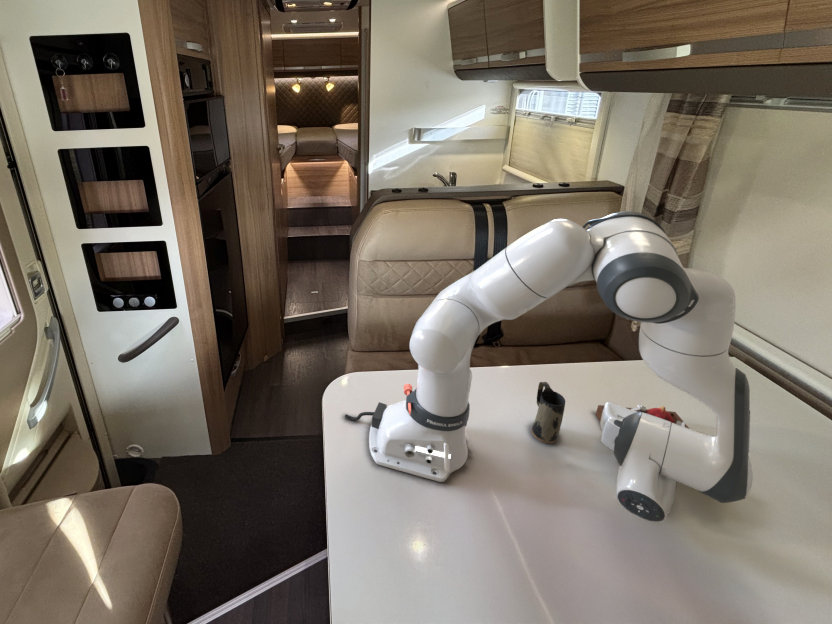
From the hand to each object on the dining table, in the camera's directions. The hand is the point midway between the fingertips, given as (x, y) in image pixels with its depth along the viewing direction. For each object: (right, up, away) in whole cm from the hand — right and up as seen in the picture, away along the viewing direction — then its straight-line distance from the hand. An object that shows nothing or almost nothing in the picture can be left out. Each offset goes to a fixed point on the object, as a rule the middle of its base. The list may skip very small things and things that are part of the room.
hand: (659, 415), depth 97 cm
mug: (-24, -6, +5) cm, 26 cm away
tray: (-1, -7, +2) cm, 7 cm away
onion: (-1, -5, +1) cm, 5 cm away
